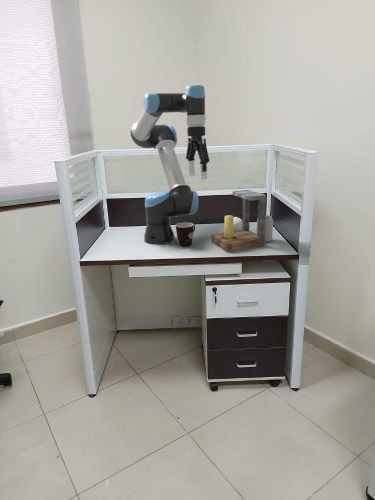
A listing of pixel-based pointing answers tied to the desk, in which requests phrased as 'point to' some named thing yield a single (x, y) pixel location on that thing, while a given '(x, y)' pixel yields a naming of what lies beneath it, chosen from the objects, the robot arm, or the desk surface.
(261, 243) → the socket board
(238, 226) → the white rounded lump
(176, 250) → the desk surface
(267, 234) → the can
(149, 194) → the robot arm
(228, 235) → the peg
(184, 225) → the coffee mug
